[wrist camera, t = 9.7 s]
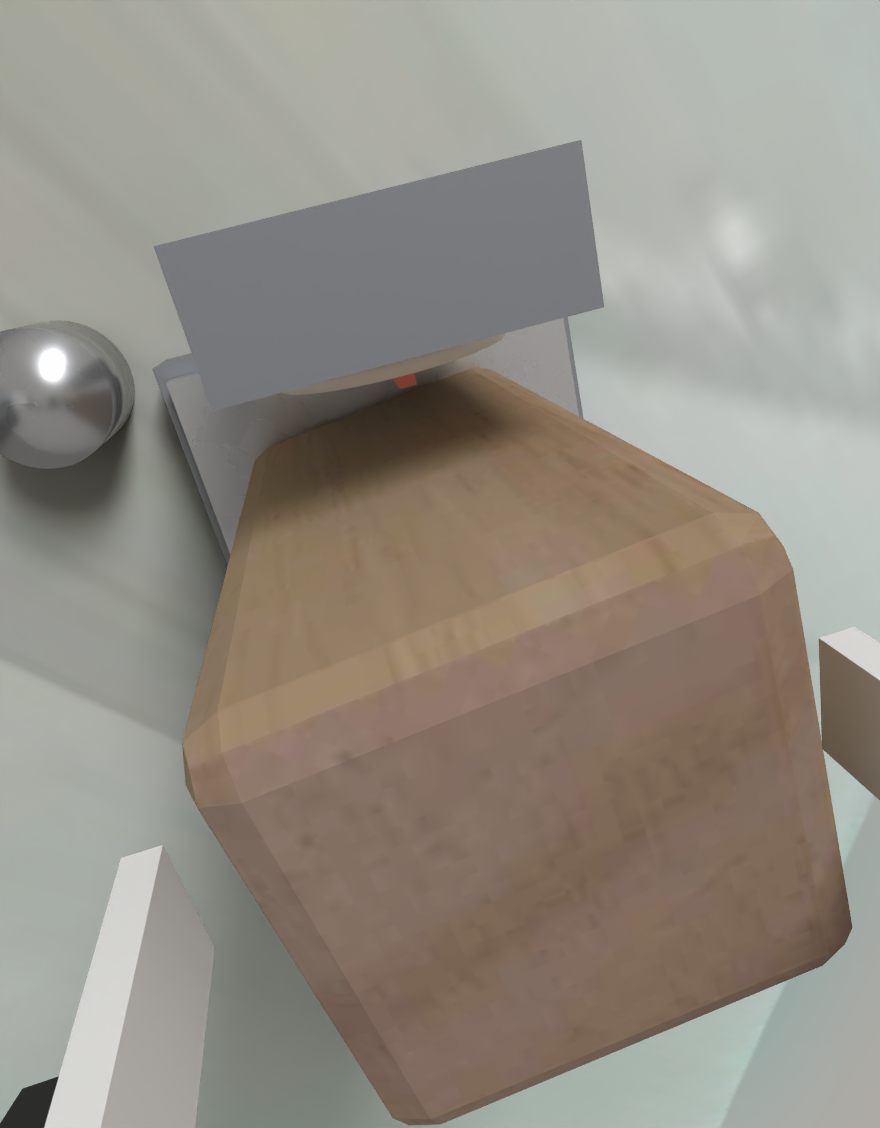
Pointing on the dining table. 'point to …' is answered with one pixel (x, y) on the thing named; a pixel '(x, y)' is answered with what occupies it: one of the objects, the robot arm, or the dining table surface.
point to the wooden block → (511, 741)
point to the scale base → (382, 283)
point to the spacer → (60, 393)
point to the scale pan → (343, 410)
